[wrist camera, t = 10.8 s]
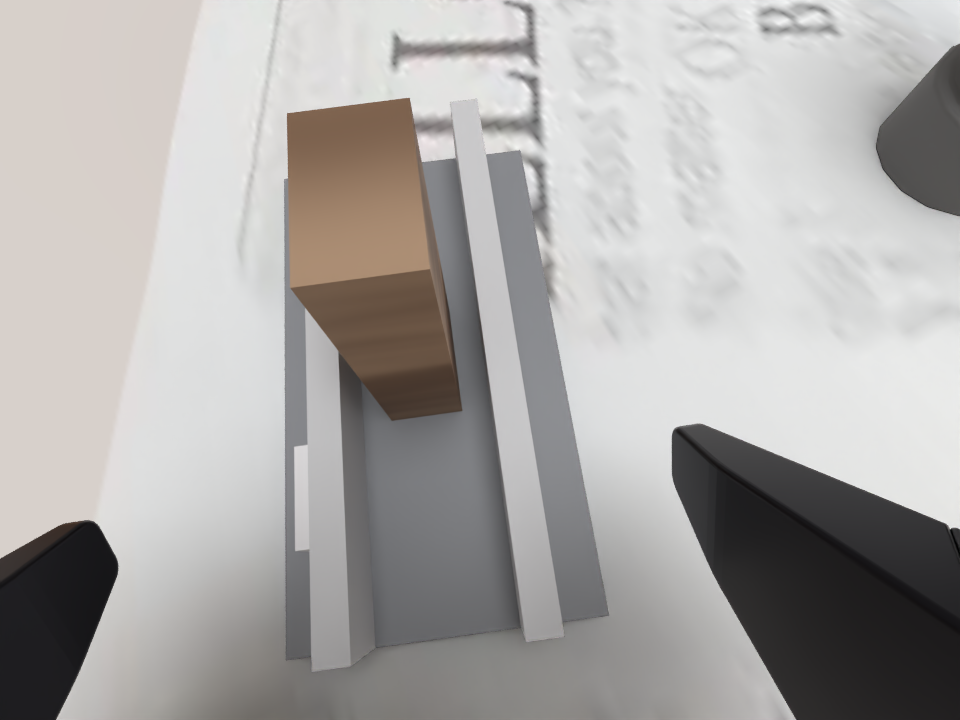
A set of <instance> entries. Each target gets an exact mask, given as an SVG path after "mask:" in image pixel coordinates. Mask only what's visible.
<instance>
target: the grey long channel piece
mask: <svg viewBox="0 0 960 720" xmlns="http://www.w3.org/2000/svg"><path fill="white" fill-rule="evenodd" d="M450 106H451V116H452V126H453V136H454V146H455V156H456V158H454V159H446V160H438V161H430V162H422V167H423V172H424V178H425V183H426V188H427V193H428V199H429V204H430V209H431V215H432V220H433V225H434V231H435V236H436V241H437V247H438V252H439V257H440V263H441V268H442V273H443V279H444V284H445V289H446V294H447V300H448V305H449V311H450V319H451V326H452V334H453V342H454V350H455V357H456V365H457V373H458V380H459V388H460V396H461V404H462V411H459V412H452V413H445V414H437V415H430V416H423V417H416V418H409V419H402V420H395V421H392V420H391V419H390V418H389V416H388V415H387V414H386V412H385V411H384V410H383V409H382V407H381V406H380V405H379V403H378V402H377V401H376V399H375V398H374V397H373V395H372V394H371V393H370V392H369V390H368V389H367V388H366V386H365V385H364V384H363V382H362V381H361V380H360V379H359V377H358V376H357V375H356V373H355V372H354V371H353V369H352V368H351V367H350V365H349V364H348V363H347V362H346V360H345V359H344V358H343V356H342V355H341V354H340V352H339V351H338V350H337V349H336V347H335V346H334V345H333V343H332V342H331V341H330V339H329V338H328V337H327V335H326V334H325V333H324V332H323V330H322V329H321V328H320V326H319V325H318V324H317V322H316V321H315V320H314V318H313V317H312V316H311V315H310V313H309V312H308V311H307V309H306V308H305V307H304V305H303V304H302V303H301V302H300V300H299V299H298V298H297V296H296V295H295V294H294V292H293V291H292V290H291V288H290V255H289V198H288V179H284V222H285V529H286V660H292V659H299V658H306V657H311V669H312V672H316V671H323V670H330V669H338V668H345V667H351V666H352V665H354V664H355V663H356V662H358V661H359V660H360V659H362V658H363V657H364V656H365V655H367V654H368V653H369V652H371V651H372V650H373V649H375V648H378V647H385V646H393V645H400V644H407V643H414V642H421V641H429V640H436V639H443V638H450V637H457V636H465V635H472V634H479V633H486V632H493V631H501V630H508V629H515V628H521V629H522V632H523V635H524V638H525V641H526V642H532V641H539V640H546V639H553V638H560V637H565V636H564V629H563V623H562V622H566V621H573V620H580V619H587V618H594V617H602V616H609V612H608V607H607V602H606V597H605V591H604V586H603V581H602V576H601V570H600V565H599V560H598V555H597V549H596V544H595V539H594V534H593V529H592V523H591V518H590V513H589V508H588V502H587V497H586V492H585V487H584V481H583V476H582V471H581V466H580V460H579V455H578V450H577V445H576V440H575V434H574V429H573V424H572V419H571V413H570V408H569V403H568V398H567V392H566V387H565V382H564V377H563V371H562V366H561V361H560V356H559V350H558V345H557V340H556V335H555V330H554V324H553V319H552V314H551V309H550V303H549V298H548V293H547V288H546V282H545V277H544V272H543V267H542V261H541V256H540V251H539V246H538V241H537V235H536V230H535V225H534V220H533V214H532V209H531V204H530V199H529V193H528V188H527V183H526V178H525V172H524V167H523V162H522V157H521V151H520V150H519V151H511V152H503V153H495V154H487V155H486V151H485V145H484V139H483V133H482V127H481V121H480V115H479V108H478V102H477V99H471V100H463V101H455V102H450Z"/></svg>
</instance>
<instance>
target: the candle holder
mask: <svg viewBox="0 0 960 720" xmlns="http://www.w3.org/2000/svg"><path fill="white" fill-rule="evenodd" d="M876 148H877V151H878V154H879V157H880V160H881V163H882V166H883V169H884V171H885V172H886V173H887V174H888V175H889V176H890V178H891V179H892V180H893V181H894V182H895V183H896V185H897V186H898V187H899V188H900V189H901V190H902V191H903V192H905V193H906V194H908V195H910V196H911V197H913V198H914V199H916V200H918V201H919V202H921V203H922V204H924V205H926V206H927V207H930V208H934V209H937V210H941V211H944V212H948V213H951V214H955V215H960V44H958V45H956V46H953V47H951V48H950V49H949V51H948V52H947V53H946V54H945V55H944V56H943V57H942V58H941V59H940V60H939V61H938V63H937V64H936V65H935V66H934V67H933V68H932V69H931V70H930V71H929V73H928V74H927V75H926V76H925V77H924V78H923V79H922V80H921V82H920V83H919V84H918V85H917V86H916V87H915V88H914V89H913V90H912V92H911V93H910V94H909V95H908V96H907V97H906V98H905V99H904V101H903V102H902V103H901V104H900V105H899V106H898V107H897V108H896V109H895V111H894V112H893V113H892V114H891V115H890V116H889V117H888V118H887V120H886V121H885V122H884V123H883V124H882V125H881V126H880V130H879V135H878V140H877V145H876Z"/></svg>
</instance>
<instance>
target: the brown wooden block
mask: <svg viewBox="0 0 960 720" xmlns="http://www.w3.org/2000/svg"><path fill="white" fill-rule="evenodd" d="M287 140H288V198H289V255H290V288H291V290H292V291H293V292H294V294H295V295H296V296H297V298H298V299H299V300H300V302H301V303H302V304H303V305H304V307H305V308H306V309H307V311H308V312H309V313H310V315H311V316H312V317H313V318H314V320H315V321H316V322H317V324H318V325H319V326H320V328H321V329H322V330H323V332H324V333H325V334H326V335H327V337H328V338H329V339H330V341H331V342H332V343H333V345H334V346H335V347H336V349H337V350H338V351H339V352H340V354H341V355H342V356H343V358H344V359H345V360H346V362H347V363H348V364H349V365H350V367H351V368H352V369H353V371H354V372H355V373H356V375H357V376H358V377H359V379H360V380H361V381H362V382H363V384H364V385H365V386H366V388H367V389H368V390H369V392H370V393H371V394H372V395H373V397H374V398H375V399H376V401H377V402H378V403H379V405H380V406H381V407H382V409H383V410H384V411H385V412H386V414H387V415H388V416H389V418H390V419H391V420H392V421H395V420H402V419H409V418H416V417H423V416H430V415H437V414H445V413H452V412H459V411H462V404H461V396H460V388H459V380H458V373H457V365H456V357H455V350H454V342H453V334H452V326H451V319H450V311H449V305H448V300H447V294H446V289H445V284H444V279H443V273H442V268H441V263H440V257H439V252H438V247H437V241H436V236H435V231H434V225H433V220H432V215H431V209H430V204H429V199H428V193H427V188H426V183H425V178H424V172H423V167H422V162H421V156H420V151H419V146H418V140H417V135H416V130H415V124H414V119H413V114H412V108H411V103H410V98H404V99H396V100H389V101H381V102H373V103H365V104H357V105H349V106H342V107H334V108H326V109H318V110H310V111H302V112H295V113H287Z"/></svg>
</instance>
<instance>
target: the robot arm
mask: <svg viewBox="0 0 960 720" xmlns="http://www.w3.org/2000/svg"><path fill="white" fill-rule="evenodd" d="M672 477H673V482H674V485H675V488H676V490H677V493H678V495H679V497H680V499H681V502H682V504H683V506H684V509H685V511H686V513H687V516H688V518H689V520H690V523H691V525H692V527H693V530H694V532H695V534H696V537H697V539H698V541H699V543H700V546H701V548H702V550H703V553H704V555H705V557H706V560H707V562H708V564H709V566H710V568H711V570H712V573H713V575H714V577H715V578H716V580H717V582H718V584H719V586H720V588H721V590H722V591H723V593H724V595H725V596H726V598H727V600H728V602H729V603H730V605H731V607H732V609H733V610H734V612H735V614H736V616H737V617H738V619H739V621H740V623H741V624H742V626H743V628H744V630H745V631H746V633H747V635H748V637H749V638H750V640H751V642H752V644H753V645H754V647H755V649H756V650H757V652H758V654H759V656H760V657H761V659H762V661H763V663H764V664H765V666H766V668H767V670H768V671H769V673H770V675H771V677H772V678H773V680H774V682H775V684H776V685H777V687H778V689H779V691H780V692H781V694H782V696H783V698H784V699H785V701H786V703H787V705H788V706H789V708H790V710H791V711H792V713H793V715H794V717H795V718H796V720H960V529H958V528H951V529H950V528H949V527H948V525H947V524H945V523H943V522H940V521H938V520H935V519H933V518H930V517H928V516H926V515H923V514H921V513H918V512H916V511H913V510H911V509H908V508H906V507H904V506H901V505H899V504H896V503H894V502H891V501H889V500H887V499H884V498H882V497H879V496H877V495H874V494H872V493H869V492H867V491H865V490H862V489H860V488H857V487H855V486H852V485H850V484H847V483H845V482H843V481H840V480H838V479H835V478H833V477H830V476H828V475H826V474H823V473H821V472H818V471H816V470H813V469H811V468H808V467H806V466H804V465H801V464H799V463H796V462H794V461H791V460H789V459H786V458H784V457H782V456H779V455H777V454H774V453H772V452H769V451H767V450H764V449H762V448H760V447H757V446H755V445H752V444H750V443H747V442H745V441H743V440H740V439H738V438H735V437H733V436H730V435H728V434H725V433H723V432H721V431H718V430H716V429H713V428H711V427H708V426H706V425H703V424H692V425H686V426H680V427H676V428H675V429H674V430H673V433H672ZM117 575H118V561H117V558H116V556H115V554H114V552H113V551H112V549H111V547H110V545H109V543H108V541H107V540H106V538H105V536H104V534H103V532H102V531H101V529H100V527H99V526H98V524H96V523H95V522H93V521H90V520H84V521H78V522H71V523H65V524H62V525H60V526H58V527H56V528H54V529H52V530H51V531H49V532H47V533H45V534H43V535H42V536H40V537H38V538H36V539H34V540H33V541H31V542H29V543H27V544H26V545H24V546H22V547H20V548H19V549H17V550H15V551H13V552H11V553H9V554H8V555H6V556H4V557H3V558H1V559H0V720H56V719H57V717H58V715H59V713H60V711H61V709H62V707H63V705H64V703H65V701H66V699H67V697H68V695H69V693H70V691H71V688H72V686H73V684H74V682H75V680H76V678H77V676H78V674H79V671H80V669H81V666H82V664H83V662H84V659H85V657H86V654H87V652H88V649H89V647H90V644H91V642H92V639H93V637H94V634H95V631H96V629H97V626H98V624H99V621H100V619H101V616H102V614H103V611H104V609H105V606H106V603H107V601H108V598H109V596H110V593H111V591H112V588H113V586H114V583H115V580H116V578H117Z"/></svg>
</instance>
